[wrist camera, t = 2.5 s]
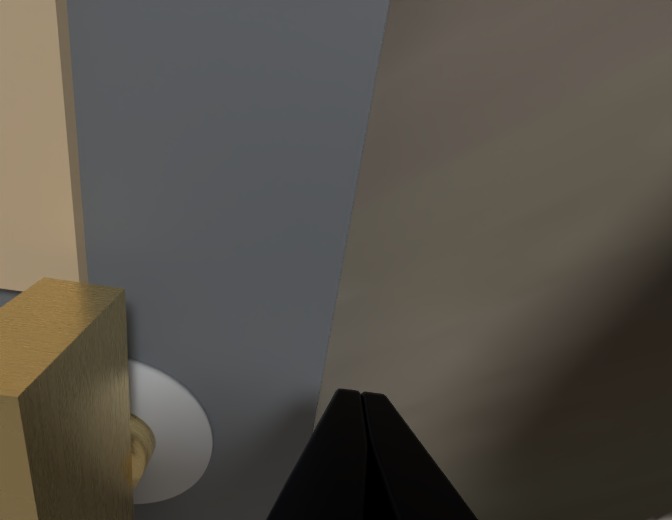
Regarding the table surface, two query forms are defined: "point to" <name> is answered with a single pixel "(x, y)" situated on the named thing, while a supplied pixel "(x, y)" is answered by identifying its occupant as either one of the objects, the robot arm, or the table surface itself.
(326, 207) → the panel
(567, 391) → the table surface
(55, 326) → the yellow rectangular block
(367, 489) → the robot arm
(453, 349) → the table surface
